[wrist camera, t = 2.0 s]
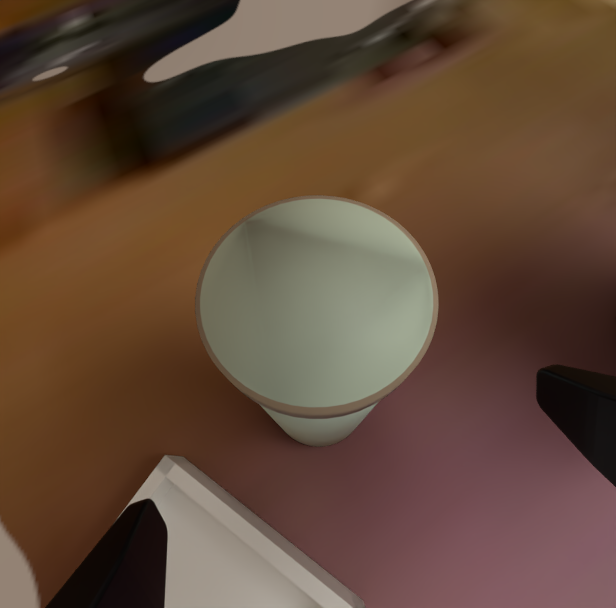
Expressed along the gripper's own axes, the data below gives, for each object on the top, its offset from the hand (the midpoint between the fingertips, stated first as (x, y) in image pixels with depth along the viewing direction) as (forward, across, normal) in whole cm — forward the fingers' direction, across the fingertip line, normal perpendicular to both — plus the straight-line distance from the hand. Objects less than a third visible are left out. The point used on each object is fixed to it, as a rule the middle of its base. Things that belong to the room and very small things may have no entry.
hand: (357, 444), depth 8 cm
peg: (+9, 0, +5) cm, 10 cm away
